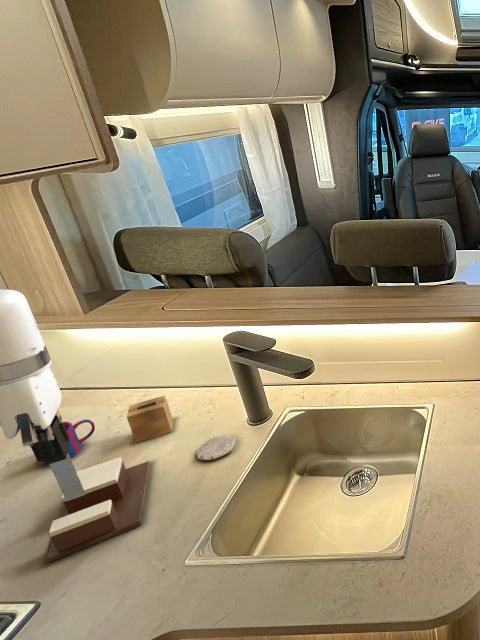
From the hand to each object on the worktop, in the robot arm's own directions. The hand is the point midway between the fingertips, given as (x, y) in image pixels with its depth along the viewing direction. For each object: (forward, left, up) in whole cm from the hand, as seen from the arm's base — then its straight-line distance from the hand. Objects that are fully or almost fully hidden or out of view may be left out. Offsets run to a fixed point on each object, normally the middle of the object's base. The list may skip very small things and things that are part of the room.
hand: (54, 449), depth 74 cm
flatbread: (+21, +11, -21) cm, 31 cm away
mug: (-8, +30, -21) cm, 37 cm away
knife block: (+8, +27, -21) cm, 35 cm away
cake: (0, +9, -20) cm, 22 cm away
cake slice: (0, -2, -20) cm, 20 cm away
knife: (0, 0, -12) cm, 12 cm away
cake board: (+1, +5, -21) cm, 21 cm away
